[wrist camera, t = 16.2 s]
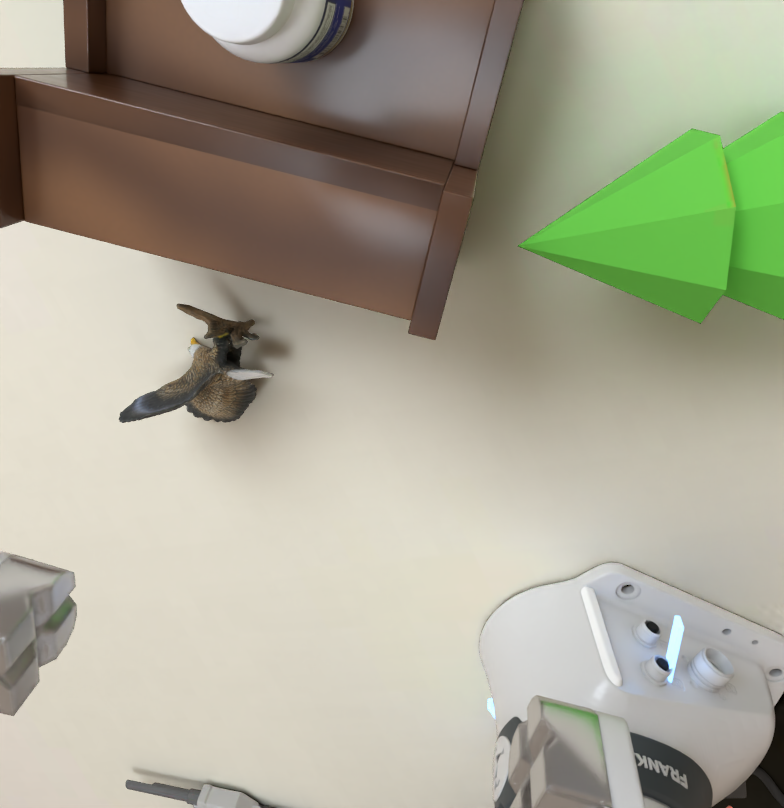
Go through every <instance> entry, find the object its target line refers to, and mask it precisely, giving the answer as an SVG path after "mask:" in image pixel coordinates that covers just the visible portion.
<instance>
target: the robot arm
mask: <svg viewBox="0 0 784 808" xmlns="http://www.w3.org/2000/svg"><path fill="white" fill-rule="evenodd" d="M624 585H630V586H627V587H624ZM74 588H75V576H74V572H71V571H68V570H65V569H62V568H58V567H55V566H52V565H48V564H45V563H41V562H38V561H35V560H31V559H28V558H25V557H21V556H18V555H14V554H11V553H7V552H4V551H0V713H3V714H7V715H11V716H14V715H15V713H16V712H17V711H18V709H19V708H20V707H21V705H22V704H23V703H24V701H25V700H26V699H27V697H28V696H29V695H30V693H31V692H32V691H33V689H34V688H35V687H36V685H37V684H38V683H39V667H41V666H43V665H45V664H47V663H49V662H51V661H53V660H55V659H56V658H57V657H58V655H59V654H60V653H61V651H62V650H63V648H64V647H65V646H66V644H67V642H68V640H69V637H70V635H71V633H72V631H73V629H74V626H75V621H76V616H77V606H76V603H75V602H74V601H73V600H72V598H71V597H70V596H69V594H70V593H71V591H72V590H73V589H74ZM479 653H480V658H481V661H482V664H483V667H484V669H485V672H486V676H487V679H488V683H489V687H490V691H491V696H492V698H490V699H488V710H489V711H490V713H491V714H492V715H493V717H494V718H495V720H496V727H497V737H498V738H497V741H496V745H495V750H494V758H493V801H494V803H495V808H712V806H714V805H715V804H717V803H718V802H719V801H721V800H722V799H724V798H746V779H747V778H748V777H749V776H750V775H751V774H753V775H756V776H757V777H758V778H760V780H761V781H762V782H763V783H764V784H765V786H766V787H767V788H768V790H769V791H770V793H771V794H772V795H773V797H774V798H775V799H776V800H777V801H778V802H779V803H780V804H781V805H782V806H783V807H784V795H783V793H782V792H781V791H780V790H779V788H778V787H777V786H776V784H775V783H774V781H773V780H772V779H771V777H770V776H769V775H768V774H767V773H766V772H765V771H764V770H763V769H762V768H760V767H758V765H759V764H760V763H761V761H762V759H763V758H764V756H765V755H766V753H767V751H768V749H769V747H770V744H771V742H772V739H773V735H774V730H775V712H774V706H775V705H776V703H777V702H778V700H779V699H780V697H781V695H782V694H783V692H784V637H783V636H782V635H780V634H778V633H776V632H774V631H771V630H769V629H767V628H765V627H762V626H760V625H758V624H756V623H753V622H751V621H749V620H747V619H744V618H742V617H740V616H738V615H735V614H733V613H731V612H729V611H726V610H724V609H722V608H720V607H717V606H715V605H713V604H711V603H708V602H706V601H704V600H702V599H699V598H697V597H695V596H693V595H690V594H688V593H686V592H684V591H681V590H679V589H677V588H675V587H672V586H670V585H668V584H666V583H663V582H661V581H659V580H657V579H654V578H652V577H650V576H648V575H645V574H643V573H641V572H639V571H636V570H634V569H632V568H630V567H627V566H625V565H623V564H620V563H615V562H609V563H605V564H601V565H599V566H597V567H595V568H593V569H591V570H589V571H587V572H585V573H583V574H582V575H580V576H578V577H576V578H574V579H571V580H567V581H563V582H558V583H552V584H547V585H543V586H539V587H535V588H532V589H529V590H527V591H524V592H522V593H520V594H518V595H516V596H514V597H512V598H511V599H509V600H507V601H506V602H505V603H503V604H502V605H501V606H500V607H498V608H497V609H496V610H495V611H494V612H493V614H492V615H491V616H490V617H489V619H488V620H487V622H486V623H485V625H484V627H483V630H482V632H481V636H480V641H479ZM726 808H733V807H731V806H728V807H726Z"/></svg>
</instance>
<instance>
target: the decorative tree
mask: <svg viewBox="0 0 784 808" xmlns="http://www.w3.org/2000/svg"><path fill="white" fill-rule="evenodd" d="M518 247H521V248H523V249H526V250H528V251H530V252H533V253H535V254H537V255H540V256H542V257H544V258H547V259H549V260H552V261H554V262H556V263H559V264H561V265H563V266H566V267H568V268H570V269H573V270H575V271H577V272H580V273H582V274H585V275H587V276H589V277H592V278H594V279H596V280H599V281H601V282H603V283H606V284H608V285H610V286H613V287H615V288H618V289H620V290H622V291H625V292H627V293H629V294H632V295H634V296H636V297H639V298H641V299H644V300H646V301H648V302H651V303H653V304H655V305H658V306H660V307H662V308H665V309H667V310H669V311H672V312H674V313H677V314H679V315H681V316H684V317H686V318H688V319H691V320H693V321H695V322H698V323H700V324H701V323H702V321H703V320H704V319H705V317H706V316H707V315H708V313H709V312H710V311H711V309H712V308H713V307H714V305H715V304H716V303H717V301H718V300H719V299H720V298H721V296H722V295H724V296H727V297H729V298H732V299H734V300H737V301H739V302H742V303H744V304H746V305H749V306H751V307H754V308H756V309H759V310H761V311H764V312H766V313H768V314H771V315H773V316H776V317H778V318H781V319H783V320H784V112H780V113H778V114H777V115H775V116H774V117H772V118H771V119H769V120H767V121H766V122H764V123H763V124H761V125H760V126H758V127H756V128H755V129H753V130H752V131H750V132H749V133H747V134H745V135H744V136H742V137H741V138H739V139H738V140H736V141H734V142H733V143H731V144H730V145H728V146H727V147H725V148H724V149H723V147H722V143H721V138H720V135H716V134H712V133H708V132H704V131H700V130H696V129H691V130H689V131H688V132H686V133H685V134H683V135H682V136H680V137H679V138H677V139H676V140H674V141H673V142H671V143H670V144H668V145H667V146H665V147H664V148H662V149H661V150H659V151H658V152H656V153H655V154H653V155H652V156H650V157H649V158H647V159H646V160H644V161H643V162H641V163H640V164H639V165H637V166H636V167H634V168H633V169H631V170H630V171H628V172H627V173H625V174H624V175H622V176H621V177H619V178H618V179H616V180H615V181H613V182H612V183H610V184H609V185H607V186H606V187H604V188H603V189H601V190H600V191H598V192H597V193H595V194H594V195H592V196H591V197H589V198H588V199H587V200H585V201H584V202H582V203H581V204H579V205H578V206H576V207H575V208H573V209H572V210H570V211H569V212H567V213H566V214H564V215H563V216H561V217H560V218H558V219H557V220H555V221H554V222H552V223H551V224H549V225H548V226H546V227H545V228H543V229H542V230H540V231H539V232H537V233H536V234H534V235H533V236H532V237H530V238H529V239H527V240H526V241H524V242H523V243H521V244H520V245H518Z"/></svg>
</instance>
